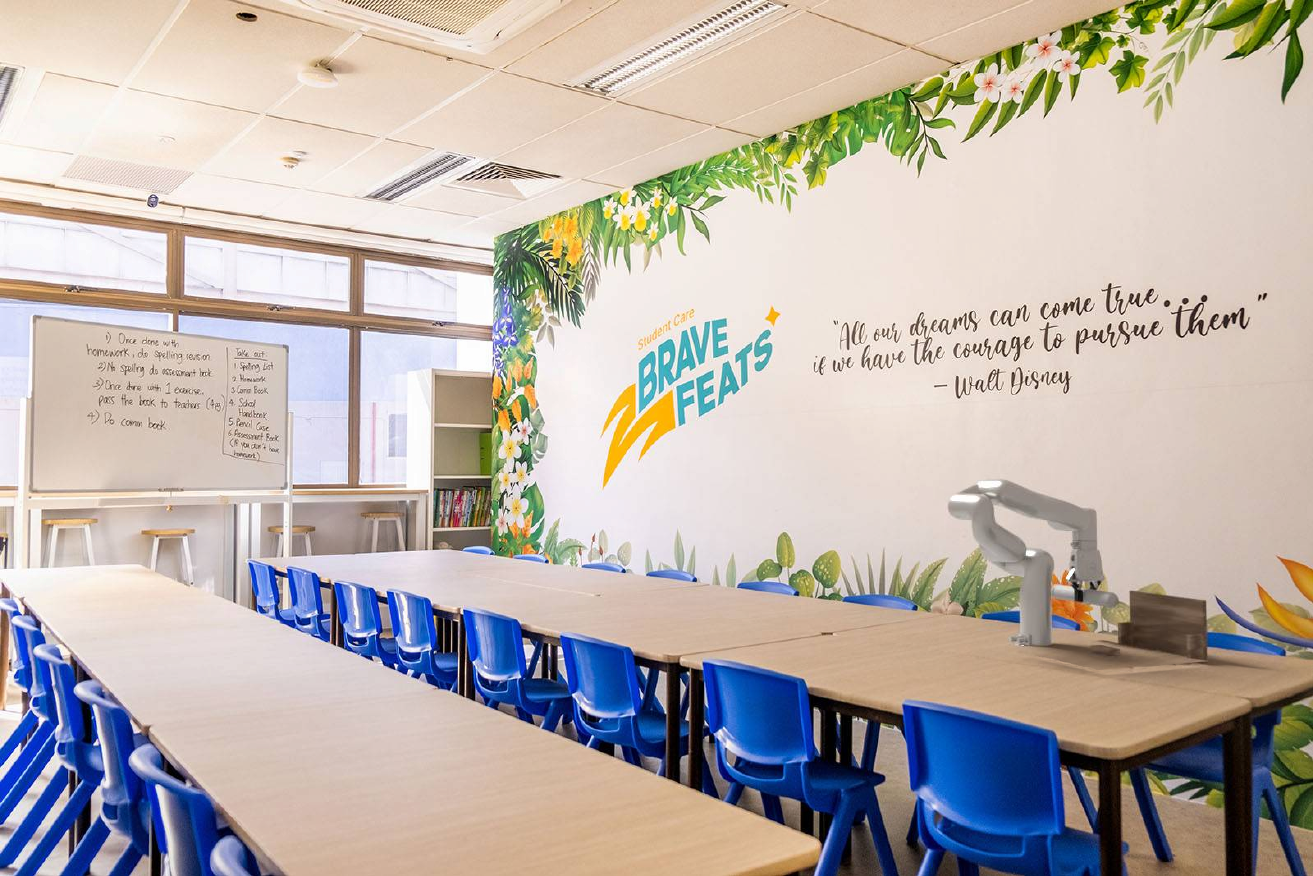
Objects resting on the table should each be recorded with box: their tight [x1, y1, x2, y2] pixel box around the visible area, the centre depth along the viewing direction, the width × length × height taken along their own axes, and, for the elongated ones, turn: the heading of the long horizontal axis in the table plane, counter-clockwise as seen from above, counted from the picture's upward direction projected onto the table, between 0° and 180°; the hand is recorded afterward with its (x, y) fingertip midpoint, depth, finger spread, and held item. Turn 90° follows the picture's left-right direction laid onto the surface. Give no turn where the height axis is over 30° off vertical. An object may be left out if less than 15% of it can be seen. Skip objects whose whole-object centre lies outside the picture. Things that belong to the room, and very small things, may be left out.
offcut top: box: [1089, 644, 1121, 657], centre depth 303 cm, size 4×8×2 cm, turn 17°
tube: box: [1051, 583, 1120, 608], centre depth 330 cm, size 5×5×25 cm
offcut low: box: [1088, 651, 1125, 658], centre depth 303 cm, size 5×10×2 cm, turn 17°
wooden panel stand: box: [1117, 590, 1208, 661], centre depth 310 cm, size 6×28×18 cm, turn 19°
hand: (1085, 600), depth 330 cm, fingers closed on tube, 4 cm apart
